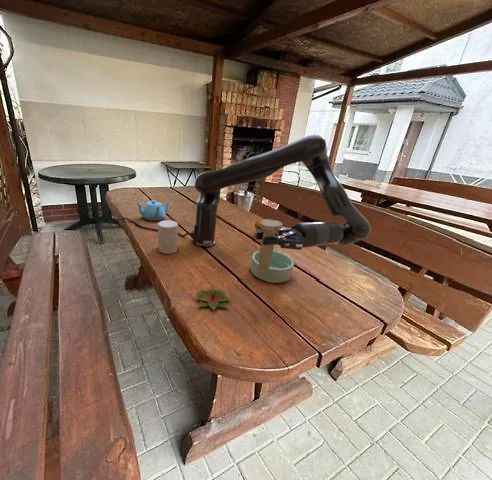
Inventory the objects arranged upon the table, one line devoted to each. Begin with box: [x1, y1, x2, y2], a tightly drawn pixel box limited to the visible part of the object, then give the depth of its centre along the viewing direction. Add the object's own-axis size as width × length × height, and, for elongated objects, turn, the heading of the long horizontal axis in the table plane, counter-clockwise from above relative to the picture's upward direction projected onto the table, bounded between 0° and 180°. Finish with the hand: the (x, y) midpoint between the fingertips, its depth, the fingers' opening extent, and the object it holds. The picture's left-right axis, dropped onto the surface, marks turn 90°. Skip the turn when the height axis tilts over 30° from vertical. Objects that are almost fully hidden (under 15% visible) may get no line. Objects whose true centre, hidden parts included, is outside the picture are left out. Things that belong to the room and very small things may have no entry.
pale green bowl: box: [250, 250, 295, 284], centre depth 101 cm, size 16×16×6 cm
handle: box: [258, 219, 283, 271], centre depth 77 cm, size 5×6×15 cm
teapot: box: [135, 199, 172, 222], centre depth 148 cm, size 15×15×10 cm
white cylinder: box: [157, 220, 179, 255], centre depth 112 cm, size 8×8×12 cm
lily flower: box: [195, 286, 231, 312], centre depth 83 cm, size 12×12×5 cm
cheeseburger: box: [254, 218, 269, 234], centre depth 136 cm, size 10×11×10 cm
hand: (260, 238), depth 75 cm, fingers closed on handle, 3 cm apart
